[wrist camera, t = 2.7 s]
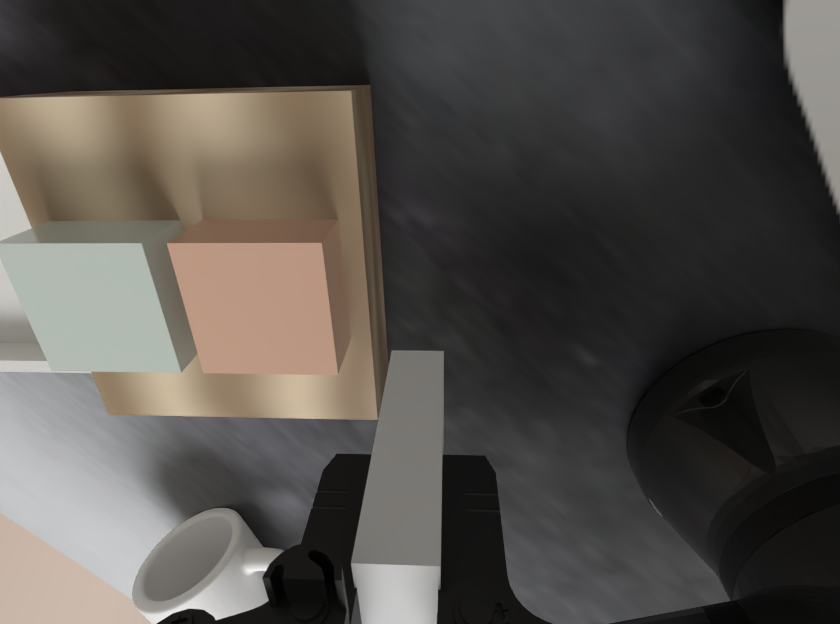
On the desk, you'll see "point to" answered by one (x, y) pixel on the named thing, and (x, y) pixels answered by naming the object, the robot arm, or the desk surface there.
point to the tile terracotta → (264, 295)
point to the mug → (204, 568)
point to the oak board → (217, 212)
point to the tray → (3, 313)
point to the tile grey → (102, 294)
